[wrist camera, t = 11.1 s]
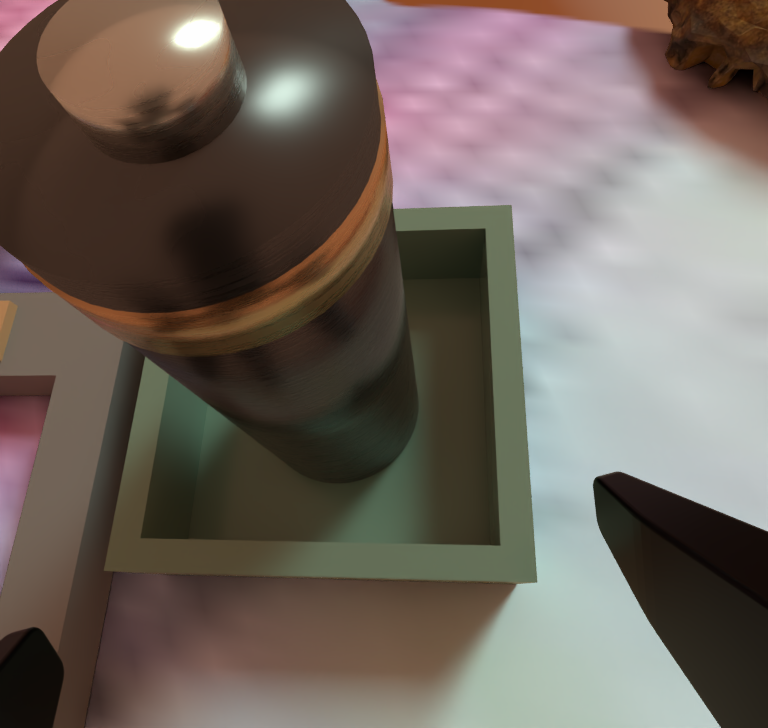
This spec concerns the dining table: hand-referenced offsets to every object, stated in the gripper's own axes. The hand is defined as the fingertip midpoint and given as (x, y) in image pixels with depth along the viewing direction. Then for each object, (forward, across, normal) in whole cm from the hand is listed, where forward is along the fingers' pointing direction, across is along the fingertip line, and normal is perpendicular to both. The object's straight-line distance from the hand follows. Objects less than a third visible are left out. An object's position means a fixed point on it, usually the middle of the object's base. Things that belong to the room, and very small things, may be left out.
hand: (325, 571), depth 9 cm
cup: (+10, 0, +2) cm, 10 cm away
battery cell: (+9, 0, +2) cm, 10 cm away
